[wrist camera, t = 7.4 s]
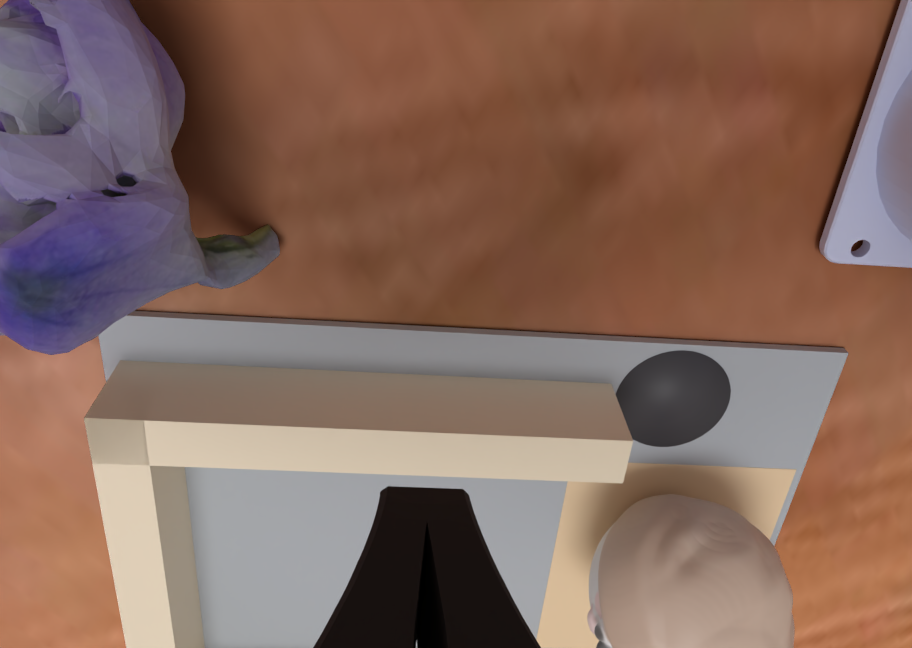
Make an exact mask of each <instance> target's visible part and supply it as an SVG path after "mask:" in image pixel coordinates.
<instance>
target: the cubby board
mask: <svg viewBox="0 0 912 648" xmlns="http://www.w3.org/2000/svg"><path fill="white" fill-rule="evenodd" d="M98 336H99V342H100V348H101V354H102V360H103V366H104V372H105V378H106V384H105V385H104V387H103V388H102V390H101V392H100V393H99V395H98V396H97V398H96V400H95V401H94V403H93V404H92V406H91V408H90V409H89V411H88V412H87V414H86V415H85V417H84V421H85V426H86V432H87V437H88V443H89V448H90V453H91V459H92V464H93V470H94V475H95V481H96V486H97V491H98V497H99V502H100V508H101V513H102V518H103V524H104V529H105V535H106V540H107V546H108V551H109V556H110V562H111V567H112V573H113V578H114V584H115V589H116V594H117V600H118V605H119V611H120V616H121V621H122V627H123V632H124V638H125V643H126V648H313V647H314V645H315V644H316V642H317V640H318V639H319V637H320V635H321V634H322V632H323V630H324V628H325V626H326V624H327V623H328V621H329V619H330V617H331V615H332V613H333V611H334V610H335V608H336V606H337V604H338V602H339V600H340V598H341V596H342V595H343V593H344V591H345V589H346V587H347V585H348V582H349V580H350V578H351V576H352V574H353V571H354V569H355V567H356V565H357V562H358V560H359V558H360V556H361V553H362V551H363V549H364V546H365V544H366V541H367V538H368V536H369V533H370V530H371V528H372V525H373V522H374V518H375V515H376V511H377V507H378V503H379V497H380V491H382V490H383V489H385V488H386V487H387V486H396V487H423V488H450V489H464V490H465V491H466V492H467V493H468V494H469V497H470V501H471V504H472V507H473V510H474V514H475V516H476V519H477V522H478V525H479V527H480V530H481V532H482V535H483V537H484V540H485V542H486V544H487V547H488V549H489V551H490V554H491V556H492V558H493V560H494V562H495V564H496V566H497V569H498V571H499V573H500V574H501V576H502V578H503V580H504V582H505V584H506V586H507V588H508V590H509V592H510V594H511V596H512V598H513V600H514V602H515V604H516V606H517V607H518V609H519V611H520V613H521V615H522V616H523V618H524V620H525V622H526V623H527V625H528V627H529V628H530V630H531V632H532V634H533V635H534V637H535V639H536V640H537V642H538V644H539V645H540V647H541V648H596V647H597V644H598V642H599V640H598V639H597V638H596V636H595V635H594V634H593V633H592V632H591V630H590V628H589V625H588V621H587V615H588V612H589V610H590V609H591V608H590V601H589V574H590V568H591V563H592V560H593V556H594V553H595V551H596V549H597V546H598V544H599V542H600V541H601V539H602V537H603V536H604V534H605V533H606V532H607V531H608V529H609V528H610V527H611V526H612V525H613V524H614V523H615V522H616V521H617V520H618V518H619V517H620V516H621V515H622V514H623V513H624V512H625V511H626V510H627V509H628V508H629V507H630V506H632V505H633V504H635V503H636V502H638V501H640V500H642V499H645V498H648V497H652V496H657V495H666V494H675V495H682V496H686V497H690V498H696V499H701V500H706V501H710V502H714V503H717V504H720V505H723V506H725V507H728V508H730V509H732V510H734V511H736V512H737V513H739V514H740V515H742V516H743V517H744V518H745V519H747V520H748V521H749V522H750V523H751V524H752V525H754V526H755V527H756V528H758V529H759V530H760V531H761V532H762V533H763V534H764V535H765V536H766V537H767V538H768V539H769V540H770V541H771V543H772V544H773V546H774V545H775V543H776V540H777V537H778V535H779V532H780V530H781V527H782V524H783V522H784V519H785V517H786V514H787V511H788V509H789V506H790V504H791V501H792V498H793V496H794V493H795V491H796V488H797V485H798V483H799V480H800V478H801V475H802V472H803V470H804V467H805V465H806V462H807V459H808V457H809V454H810V452H811V449H812V446H813V444H814V441H815V439H816V436H817V433H818V431H819V428H820V426H821V423H822V420H823V418H824V415H825V413H826V410H827V408H828V405H829V402H830V400H831V397H832V395H833V392H834V389H835V387H836V384H837V382H838V379H839V376H840V374H841V371H842V369H843V366H844V363H845V361H846V358H847V356H848V352H847V351H846V350H845V349H844V348H835V347H816V346H797V345H778V344H759V343H740V342H721V341H702V340H683V339H664V338H644V337H625V336H606V335H587V334H568V333H549V332H530V331H511V330H492V329H473V328H454V327H434V326H415V325H396V324H377V323H358V322H339V321H320V320H301V319H282V318H263V317H244V316H224V315H205V314H186V313H167V312H148V311H133V312H131V313H130V314H128V315H126V316H125V317H123V318H121V319H120V320H118V321H116V322H115V323H113V324H112V325H111V326H109V327H108V328H107V329H106V330H104V331H103V332H102V333H101V334H99V335H98ZM416 648H417V641H416Z"/></svg>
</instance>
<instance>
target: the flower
mask: <svg viewBox="0 0 912 648" xmlns="http://www.w3.org/2000/svg"><path fill="white" fill-rule="evenodd" d="M184 107H185V89H184V83H183V81H182V79H181V77H180V75H179V73H178V71H177V69H176V67H175V65H174V63H173V61H172V60H171V58H170V57H169V55H168V54H167V52H166V51H165V49H164V48H163V46H162V45H161V43H160V42H159V40H158V39H157V38H156V37H155V36H154V35H153V34H152V33H151V32H150V31H149V30H148V29H147V28H146V27H145V26H144V25H143V24H142V22H141V21H140V18H139V17H138V15H137V13H136V12H135V10H134V8H133V6H132V5H131V3H130V1H129V0H8V1H7V2H6V3H5V4H4V5H3V6H2V7H1V8H0V335H6V336H7V337H9V338H11V339H12V340H14V341H15V342H17V343H18V344H20V345H21V346H23V347H24V348H26V349H28V350H33V351H37V352H41V353H45V354H49V355H54V354H60V353H67V352H69V351H71V350H73V349H74V348H76V347H78V346H80V345H82V344H84V343H86V342H88V341H90V340H92V339H94V338H95V337H97V336H98V335H99V334H101V333H102V332H103V331H104V330H106V329H107V328H108V327H109V326H111V325H112V324H113V323H115V322H116V321H118V320H120V319H121V318H123V317H125V316H126V315H128V314H130V313H131V312H133V311H135V310H136V309H138V308H140V307H141V306H143V305H145V304H146V303H148V302H150V301H152V300H154V299H156V298H158V297H160V296H162V295H164V294H166V293H168V292H170V291H173V290H176V289H179V288H182V287H185V286H188V285H191V284H194V283H197V282H198V283H199V284H200V285H203V286H209V287H214V288H219V289H224V288H229V287H232V286H235V285H237V284H240V283H242V282H244V281H246V280H248V279H250V278H251V277H253V276H254V275H256V274H258V273H259V272H260V271H261V270H262V269H264V268H265V267H266V266H267V265H268V264H270V263H271V262H272V261H273V260H274V259H276V258H277V257H278V256H279V253H280V248H279V242H278V237H277V235H276V233H275V232H274V231H273V230H272V229H271V227H270V226H269V224H268V225H266V226H264V227H262V228H259V229H258V230H256V231H254V232H253V233H251V234H249V235H248V236H235V235H225V234H224V235H217V236H213V237H209V238H197V237H195V236H194V234H193V232H192V230H191V222H190V214H189V198H188V194H187V192H186V190H185V188H184V186H183V184H182V182H181V180H180V178H179V176H178V174H177V172H176V170H175V167H174V163H173V158H172V154H171V149H172V147H173V144H174V142H175V140H176V137H177V135H178V132H179V130H180V127H181V125H182V122H183V120H184Z"/></svg>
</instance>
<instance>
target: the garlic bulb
mask: <svg viewBox="0 0 912 648" xmlns="http://www.w3.org/2000/svg"><path fill="white" fill-rule="evenodd" d="M589 601H590V608H591V609H590V610H589V612H588V615H587V621H588V625H589V628H590V630H591V632H592V633H593V634H594V635H595V636H596V638H597V639H598V640H599V642H598V644H597V647H596V648H794V620H793V615H792V605H793V594H792V589H791V586H790V584H789V581H788V579H787V577H786V574H785V571H784V568H783V566H782V563H781V560H780V557H779V555H778V553H777V551H776V549H775V547H774V546H773V544H772V543H771V541H770V540H769V539H768V538H767V537H766V536H765V535H764V534H763V533H762V532H761V531H760V530H759V529H758V528H756V527H755V526H754V525H752V524H751V523H750V522H749V521H748V520H747V519H745V518H744V517H743V516H742V515H740V514H739V513H737V512H736V511H734V510H732V509H730V508H728V507H725V506H723V505H720V504H717V503H714V502H710V501H706V500H701V499H696V498H690V497H686V496H682V495H675V494H666V495H657V496H652V497H648V498H645V499H642V500H640V501H638V502H636V503H635V504H633V505H632V506H630V507H629V508H628V509H627V510H626V511H625V512H624V513H623V514H622V515H621V516H620V517H619V518H618V520H617V521H616V522H615V523H614V524H613V525H612V526H611V527H610V528H609V529H608V531H607V532H606V533H605V534H604V536H603V537H602V539H601V541H600V542H599V544H598V546H597V549H596V551H595V553H594V556H593V560H592V563H591V568H590V574H589Z"/></svg>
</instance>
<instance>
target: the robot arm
mask: <svg viewBox="0 0 912 648" xmlns="http://www.w3.org/2000/svg"><path fill="white" fill-rule="evenodd" d="M859 240H863V244H862V245H861V247H860V248H859V249H857V250H856V251H851V247H852V246H853V244H854V243H856V242H857V241H859ZM819 249H820V252H821V254H822V255H823V256H825V257H826V258H827V259H828V260H829V261H830V262H833V263H840V264H856V265H873V266H889V267H906V268H912V0H901V2H900V5H899V8H898V11H897V14H896V17H895V20H894V23H893V26H892V29H891V32H890V35H889V38H888V41H887V44H886V47H885V50H884V52H883V55H882V58H881V61H880V64H879V67H878V70H877V73H876V76H875V79H874V82H873V85H872V88H871V91H870V94H869V97H868V100H867V103H866V106H865V109H864V112H863V115H862V118H861V121H860V124H859V127H858V130H857V133H856V136H855V139H854V142H853V145H852V148H851V151H850V153H849V156H848V159H847V162H846V165H845V168H844V171H843V174H842V177H841V180H840V183H839V186H838V189H837V192H836V195H835V198H834V201H833V204H832V207H831V210H830V213H829V216H828V219H827V222H826V225H825V228H824V231H823V234H822V237H821V240H820V245H819ZM416 641H417V648H541V647H540V645H539V644H538V642H537V640H536V639H535V637H534V635H533V634H532V632H531V630H530V628H529V627H528V625H527V623H526V622H525V620H524V618H523V616H522V615H521V613H520V611H519V609H518V607H517V606H516V604H515V602H514V600H513V598H512V596H511V594H510V592H509V590H508V588H507V586H506V584H505V582H504V580H503V578H502V576H501V574H500V573H499V571H498V569H497V566H496V564H495V562H494V560H493V558H492V556H491V554H490V551H489V549H488V547H487V544H486V542H485V540H484V537H483V535H482V532H481V530H480V527H479V525H478V522H477V519H476V516H475V514H474V510H473V507H472V504H471V501H470V497H469V494H468V493H467V492H466V491H465V490H464V489H450V488H423V487H396V486H387V487H386V488H385V489H383V490H382V491H380V497H379V503H378V507H377V511H376V515H375V518H374V522H373V525H372V528H371V530H370V533H369V536H368V538H367V541H366V544H365V546H364V549H363V551H362V553H361V556H360V558H359V560H358V562H357V565H356V567H355V569H354V571H353V574H352V576H351V578H350V580H349V582H348V585H347V587H346V589H345V591H344V593H343V595H342V596H341V598H340V600H339V602H338V604H337V606H336V608H335V610H334V611H333V613H332V615H331V617H330V619H329V621H328V623H327V624H326V626H325V628H324V630H323V632H322V634H321V635H320V637H319V639H318V640H317V642H316V644H315V645H314V647H313V648H416Z"/></svg>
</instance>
